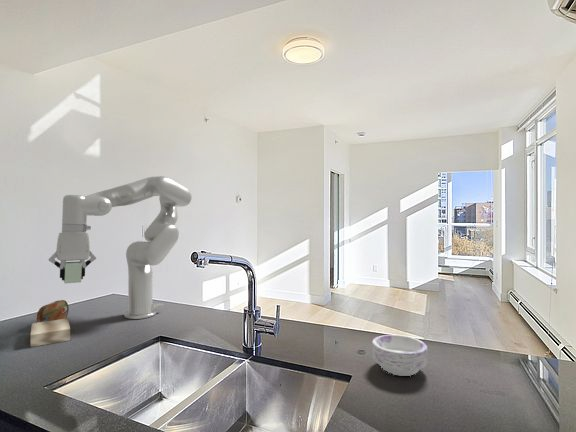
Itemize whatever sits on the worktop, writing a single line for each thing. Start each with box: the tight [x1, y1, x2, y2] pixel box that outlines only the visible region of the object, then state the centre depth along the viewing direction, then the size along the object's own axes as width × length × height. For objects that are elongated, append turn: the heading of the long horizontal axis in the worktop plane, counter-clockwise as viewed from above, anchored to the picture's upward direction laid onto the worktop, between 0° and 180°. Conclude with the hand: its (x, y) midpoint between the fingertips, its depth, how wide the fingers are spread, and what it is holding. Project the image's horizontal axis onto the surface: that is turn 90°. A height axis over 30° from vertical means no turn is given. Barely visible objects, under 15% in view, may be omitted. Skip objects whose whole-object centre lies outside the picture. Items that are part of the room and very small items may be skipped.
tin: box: [36, 299, 69, 323], centre depth 137 cm, size 15×3×8 cm, turn 179°
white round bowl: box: [371, 334, 429, 375], centre depth 100 cm, size 15×15×8 cm
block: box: [63, 260, 82, 284], centre depth 125 cm, size 5×5×7 cm
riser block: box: [30, 317, 71, 348], centre depth 122 cm, size 11×14×4 cm
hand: (72, 278), depth 125 cm, fingers closed on block, 5 cm apart
